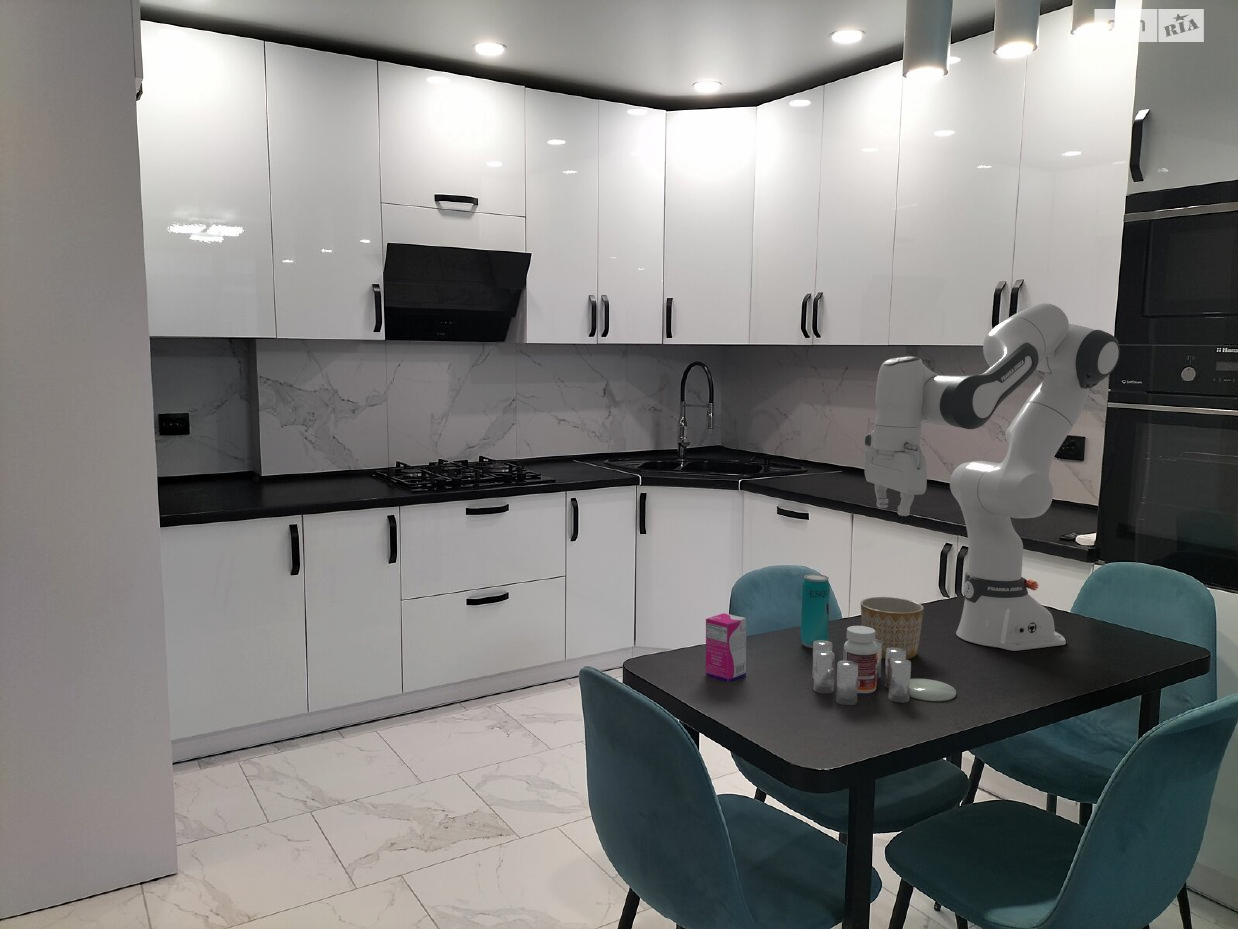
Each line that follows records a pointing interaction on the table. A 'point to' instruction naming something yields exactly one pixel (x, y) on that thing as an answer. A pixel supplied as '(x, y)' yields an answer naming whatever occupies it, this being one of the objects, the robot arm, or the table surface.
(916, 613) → the planter
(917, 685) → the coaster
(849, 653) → the pill bottle
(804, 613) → the beverage can
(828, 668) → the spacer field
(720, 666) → the supplement box
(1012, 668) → the table surface
